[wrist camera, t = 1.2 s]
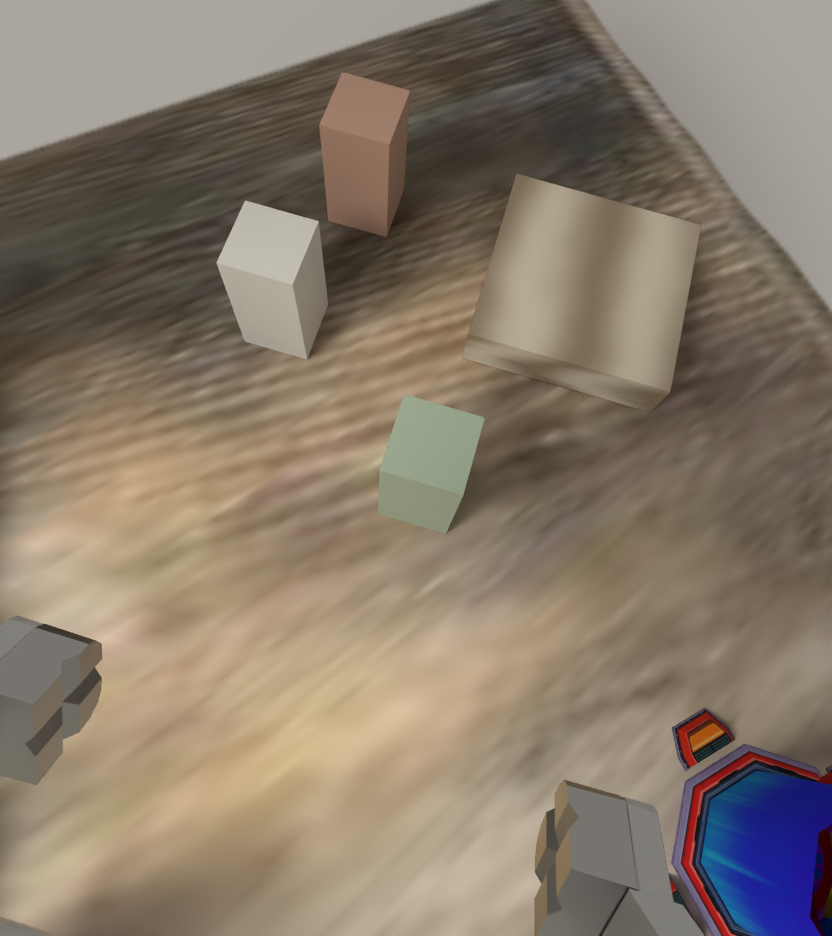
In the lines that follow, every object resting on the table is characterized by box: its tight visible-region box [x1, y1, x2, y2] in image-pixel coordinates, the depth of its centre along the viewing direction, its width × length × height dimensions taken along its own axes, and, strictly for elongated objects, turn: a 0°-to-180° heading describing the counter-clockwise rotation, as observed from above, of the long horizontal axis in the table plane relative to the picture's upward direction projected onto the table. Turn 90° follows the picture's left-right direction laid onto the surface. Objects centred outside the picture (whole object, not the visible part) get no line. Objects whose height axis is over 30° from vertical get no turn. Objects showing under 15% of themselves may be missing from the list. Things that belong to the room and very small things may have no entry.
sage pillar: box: [378, 394, 485, 534], centre depth 36 cm, size 4×4×8 cm
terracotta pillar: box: [319, 72, 410, 237], centre depth 42 cm, size 4×4×8 cm
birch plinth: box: [462, 174, 701, 412], centre depth 43 cm, size 12×12×3 cm
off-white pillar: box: [217, 201, 328, 359], centre depth 39 cm, size 4×4×8 cm
